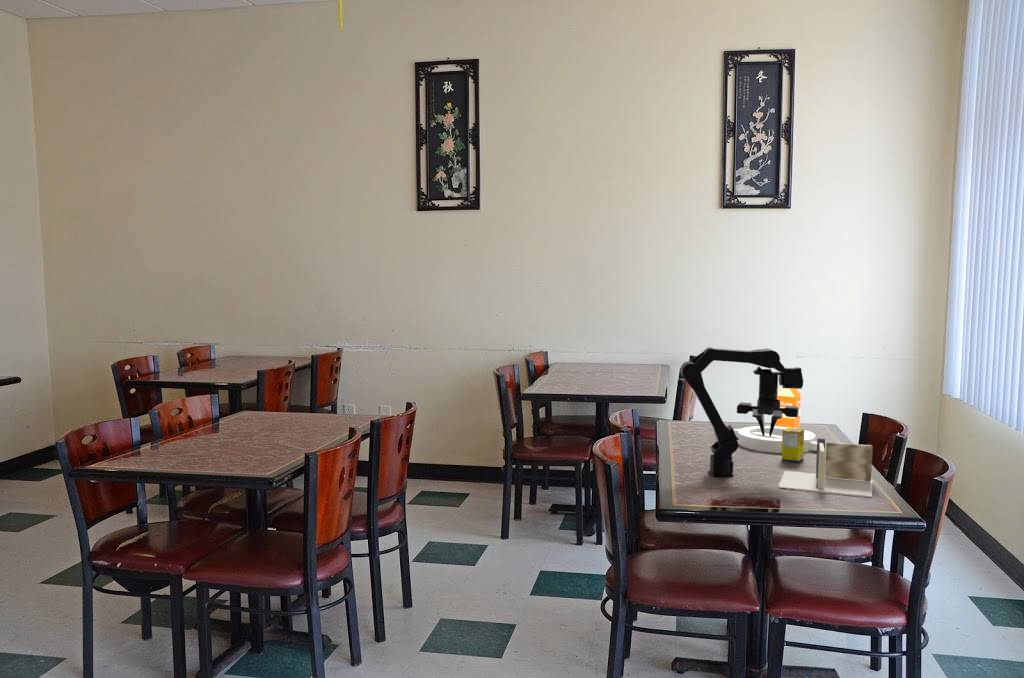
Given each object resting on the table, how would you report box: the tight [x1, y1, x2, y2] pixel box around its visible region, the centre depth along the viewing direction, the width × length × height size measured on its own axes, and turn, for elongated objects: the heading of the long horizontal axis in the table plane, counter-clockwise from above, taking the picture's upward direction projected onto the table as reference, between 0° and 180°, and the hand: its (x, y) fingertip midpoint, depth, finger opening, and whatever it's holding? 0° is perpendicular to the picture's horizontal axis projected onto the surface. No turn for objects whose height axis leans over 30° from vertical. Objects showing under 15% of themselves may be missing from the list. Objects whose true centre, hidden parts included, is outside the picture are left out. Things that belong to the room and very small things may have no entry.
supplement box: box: [781, 428, 805, 464], centre depth 300 cm, size 6×6×11 cm
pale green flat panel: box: [818, 443, 826, 488], centre depth 267 cm, size 2×13×11 cm, turn 162°
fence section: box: [815, 437, 874, 482], centre depth 272 cm, size 16×2×13 cm, turn 67°
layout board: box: [777, 470, 874, 499], centre depth 269 cm, size 27×21×1 cm
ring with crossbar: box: [733, 425, 817, 454], centre depth 326 cm, size 28×28×5 cm
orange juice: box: [775, 387, 801, 429], centre depth 352 cm, size 8×9×20 cm
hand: (766, 436), depth 278 cm, fingers closed
